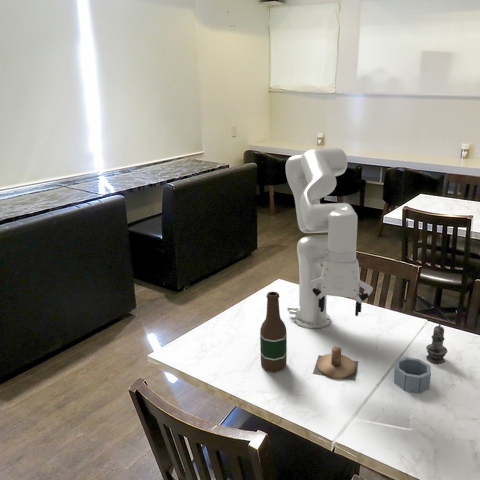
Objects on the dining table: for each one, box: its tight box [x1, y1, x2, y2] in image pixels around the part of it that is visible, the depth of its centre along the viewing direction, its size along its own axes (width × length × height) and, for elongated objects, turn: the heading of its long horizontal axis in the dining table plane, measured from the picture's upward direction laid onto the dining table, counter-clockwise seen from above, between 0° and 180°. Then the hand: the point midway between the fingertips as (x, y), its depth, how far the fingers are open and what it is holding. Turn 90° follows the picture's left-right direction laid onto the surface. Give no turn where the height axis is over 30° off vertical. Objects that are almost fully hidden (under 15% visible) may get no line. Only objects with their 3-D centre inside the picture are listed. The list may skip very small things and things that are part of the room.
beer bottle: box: [259, 291, 288, 373], centre depth 134 cm, size 8×8×24 cm
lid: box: [316, 346, 355, 380], centre depth 134 cm, size 11×11×6 cm
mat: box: [312, 354, 359, 382], centre depth 135 cm, size 12×10×1 cm
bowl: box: [393, 356, 432, 395], centre depth 127 cm, size 9×9×5 cm
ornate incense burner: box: [425, 323, 448, 365], centre depth 136 cm, size 6×6×12 cm
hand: (339, 311), depth 129 cm, fingers open, 9 cm apart
